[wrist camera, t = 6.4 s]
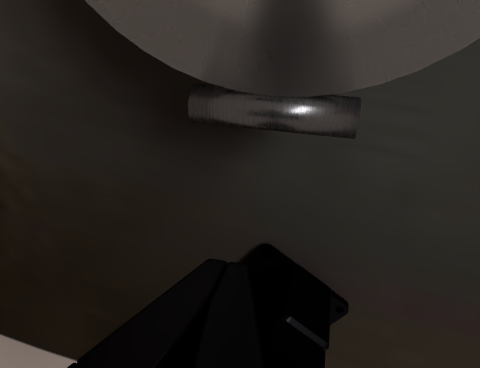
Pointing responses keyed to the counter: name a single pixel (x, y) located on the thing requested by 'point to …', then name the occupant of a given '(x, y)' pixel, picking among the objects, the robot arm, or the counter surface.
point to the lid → (291, 53)
